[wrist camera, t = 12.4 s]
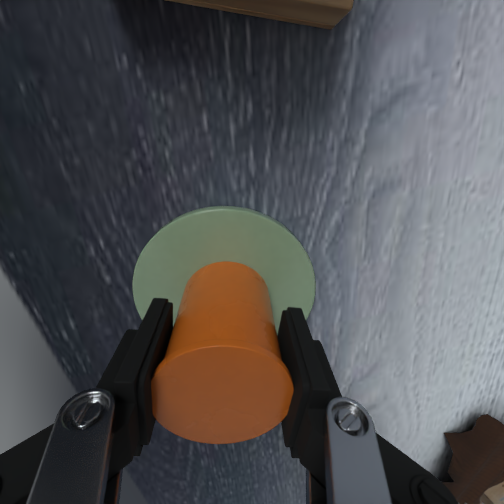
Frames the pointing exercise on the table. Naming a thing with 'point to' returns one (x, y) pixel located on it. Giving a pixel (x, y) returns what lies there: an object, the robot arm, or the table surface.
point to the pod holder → (284, 9)
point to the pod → (222, 360)
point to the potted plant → (478, 463)
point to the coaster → (224, 257)
